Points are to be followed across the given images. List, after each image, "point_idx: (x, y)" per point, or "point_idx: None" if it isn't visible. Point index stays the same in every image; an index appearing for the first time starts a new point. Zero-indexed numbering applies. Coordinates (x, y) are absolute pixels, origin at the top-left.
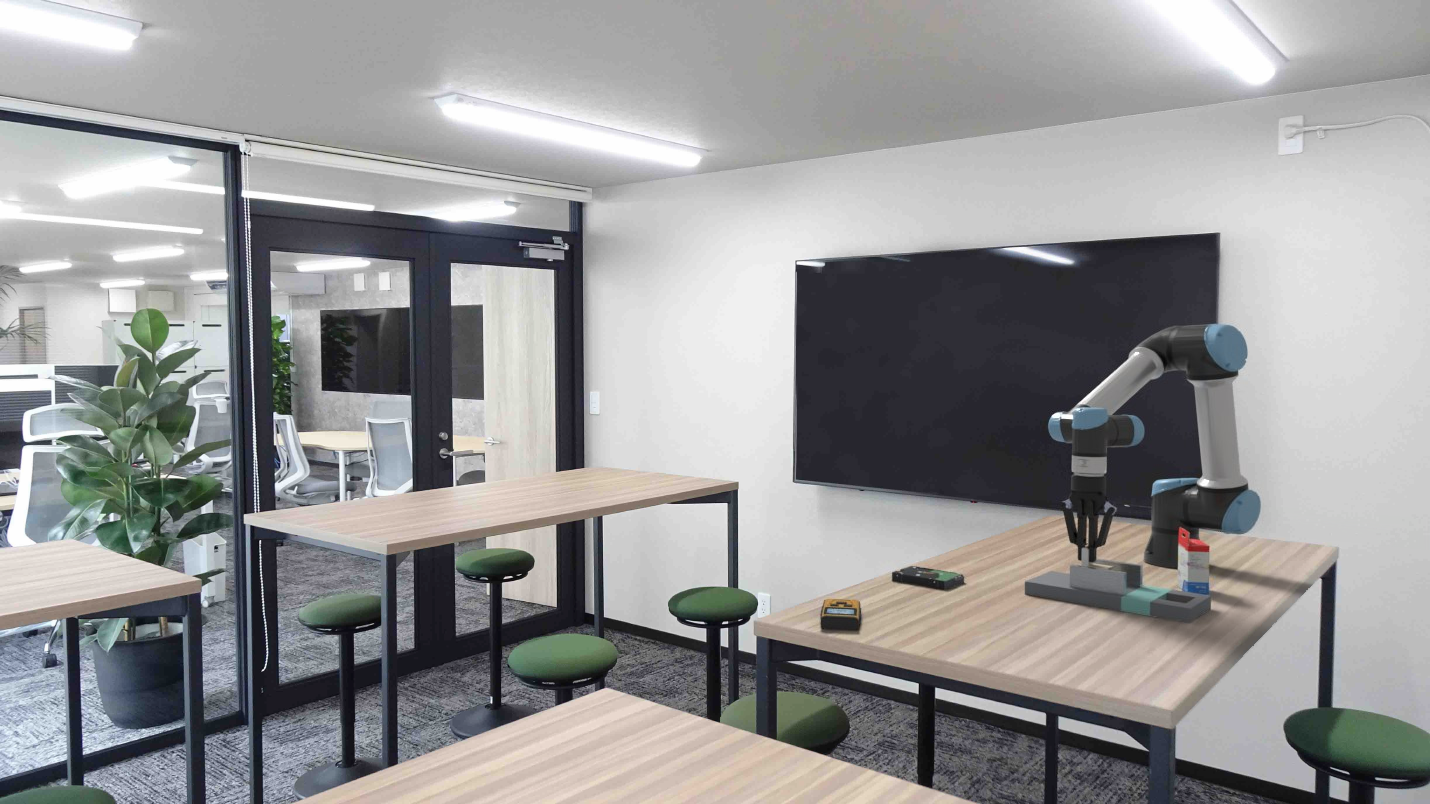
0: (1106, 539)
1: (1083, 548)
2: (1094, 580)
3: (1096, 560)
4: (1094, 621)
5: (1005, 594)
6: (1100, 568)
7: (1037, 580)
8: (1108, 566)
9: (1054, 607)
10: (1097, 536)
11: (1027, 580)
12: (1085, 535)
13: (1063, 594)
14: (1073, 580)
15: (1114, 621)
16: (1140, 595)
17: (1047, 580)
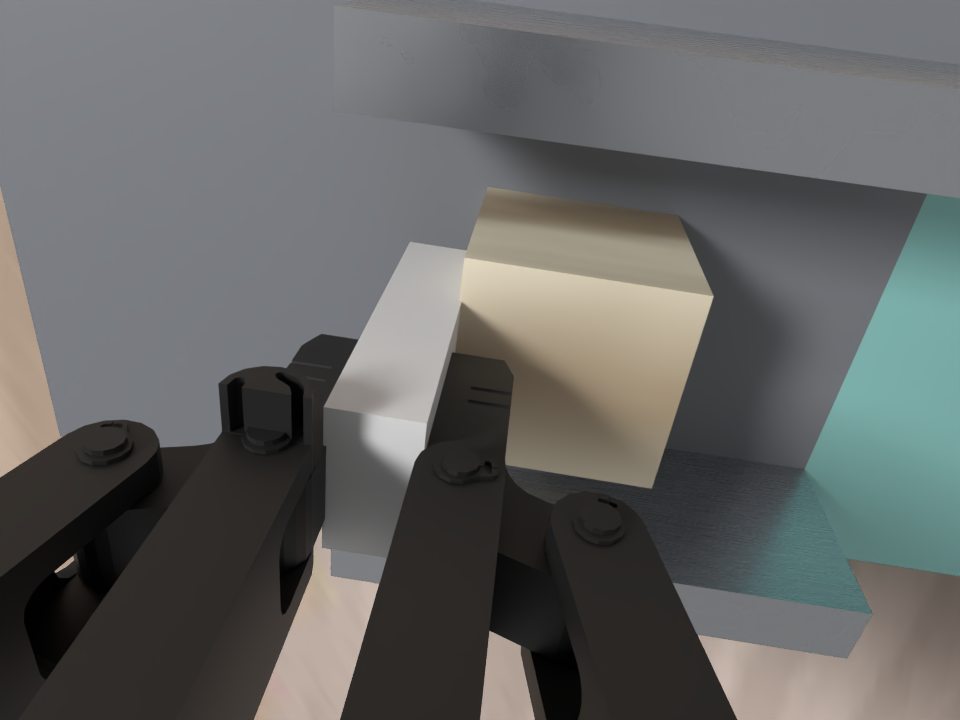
0: (677, 598)
1: (347, 546)
2: None
3: (463, 123)
4: None
5: (45, 447)
6: (594, 474)
7: (102, 366)
8: (660, 338)
9: None
10: (491, 606)
11: (55, 403)
12: (256, 596)
13: None
14: None
15: (724, 668)
16: (919, 439)
17: (154, 326)
